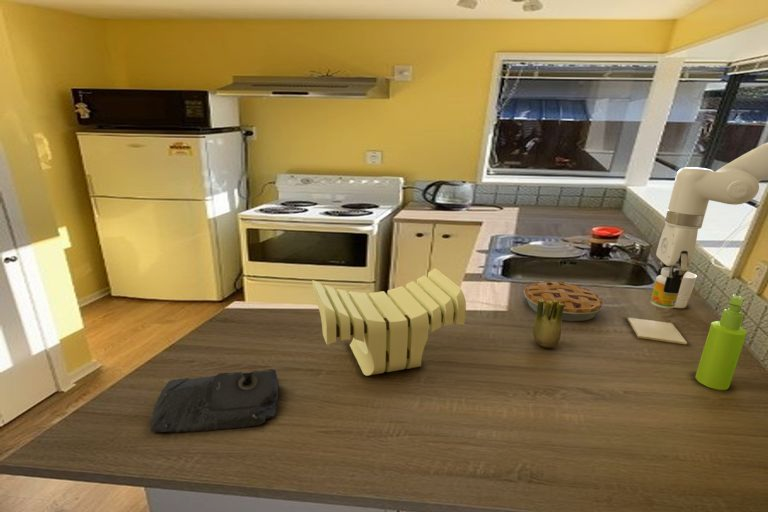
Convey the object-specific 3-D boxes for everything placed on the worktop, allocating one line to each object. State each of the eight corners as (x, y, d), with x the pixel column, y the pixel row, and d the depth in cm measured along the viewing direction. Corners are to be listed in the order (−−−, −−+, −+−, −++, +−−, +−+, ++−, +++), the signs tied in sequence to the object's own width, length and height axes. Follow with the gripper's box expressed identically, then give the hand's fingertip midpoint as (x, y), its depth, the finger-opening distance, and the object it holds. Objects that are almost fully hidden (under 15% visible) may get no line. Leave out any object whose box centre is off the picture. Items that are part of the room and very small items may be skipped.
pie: (534, 322, 116) (536, 306, 114) (513, 291, 137) (515, 276, 135) (615, 325, 115) (618, 309, 114) (582, 293, 136) (585, 279, 135)
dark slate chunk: (170, 383, 86) (167, 363, 85) (281, 375, 90) (279, 355, 88) (143, 437, 72) (138, 414, 71) (275, 424, 76) (274, 402, 74)
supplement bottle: (647, 299, 114) (655, 265, 111) (669, 301, 112) (678, 267, 109) (654, 307, 109) (663, 272, 106) (677, 310, 107) (687, 274, 104)
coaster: (671, 325, 117) (672, 323, 116) (686, 344, 107) (687, 342, 106) (627, 319, 119) (627, 317, 119) (638, 337, 109) (638, 335, 109)
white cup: (663, 296, 136) (670, 267, 132) (692, 304, 130) (700, 274, 127) (654, 302, 131) (661, 272, 128) (683, 311, 125) (692, 280, 122)
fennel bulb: (529, 343, 105) (536, 299, 101) (539, 337, 108) (546, 294, 105) (551, 353, 101) (559, 307, 97) (561, 346, 104) (569, 301, 100)
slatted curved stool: (327, 390, 86) (326, 310, 80) (314, 350, 100) (312, 279, 94) (460, 366, 95) (467, 293, 89) (430, 332, 109) (435, 268, 103)
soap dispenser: (691, 383, 91) (717, 297, 85) (698, 370, 96) (723, 288, 89) (725, 395, 87) (755, 307, 81) (731, 382, 92) (759, 297, 85)
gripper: (655, 211, 112) (640, 274, 118) (679, 226, 96) (660, 299, 102) (688, 213, 110) (671, 278, 116) (717, 229, 94) (696, 303, 100)
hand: (666, 287), depth 109 cm, fingers closed on supplement bottle, 5 cm apart
